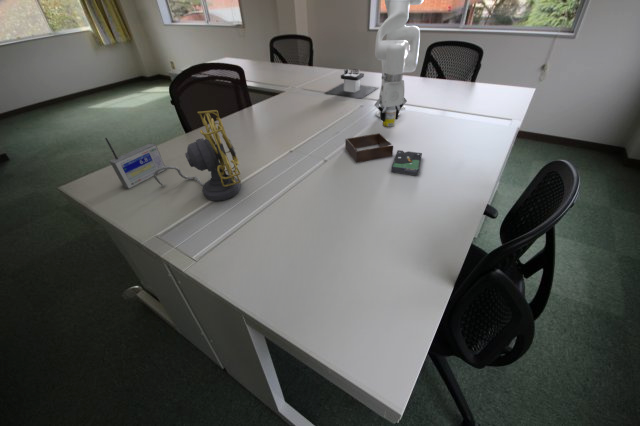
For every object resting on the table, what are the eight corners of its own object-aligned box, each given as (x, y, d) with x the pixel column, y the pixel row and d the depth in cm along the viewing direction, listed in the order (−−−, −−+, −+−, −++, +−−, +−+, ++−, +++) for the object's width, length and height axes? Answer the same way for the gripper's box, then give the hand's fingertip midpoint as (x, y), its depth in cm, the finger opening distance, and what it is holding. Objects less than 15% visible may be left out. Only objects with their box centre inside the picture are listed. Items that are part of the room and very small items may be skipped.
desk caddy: (378, 143, 137) (379, 133, 134) (392, 156, 126) (393, 145, 123) (345, 149, 134) (345, 138, 131) (356, 162, 123) (356, 151, 120)
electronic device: (128, 189, 115) (103, 141, 103) (119, 184, 118) (93, 138, 106) (167, 169, 126) (148, 124, 114) (157, 165, 129) (138, 121, 117)
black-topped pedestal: (378, 87, 205) (379, 66, 196) (361, 98, 188) (362, 76, 180) (343, 83, 217) (343, 63, 209) (324, 93, 200) (323, 72, 192)
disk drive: (396, 155, 127) (390, 172, 116) (397, 149, 125) (391, 166, 114) (421, 158, 124) (418, 176, 113) (422, 152, 122) (419, 169, 111)
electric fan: (248, 205, 103) (228, 122, 85) (151, 224, 97) (106, 140, 78) (242, 169, 123) (224, 96, 104) (161, 184, 117) (127, 108, 98)
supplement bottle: (386, 123, 140) (388, 101, 133) (396, 125, 137) (399, 103, 130) (379, 127, 136) (381, 104, 130) (390, 129, 133) (393, 107, 127)
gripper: (378, 82, 119) (375, 125, 130) (416, 77, 122) (410, 119, 133) (370, 77, 124) (368, 119, 136) (407, 73, 128) (401, 114, 139)
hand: (389, 119), depth 134 cm, fingers closed on supplement bottle, 5 cm apart
